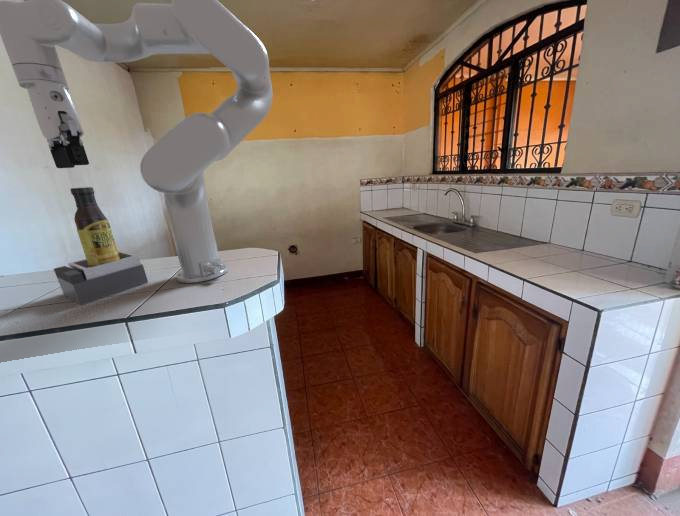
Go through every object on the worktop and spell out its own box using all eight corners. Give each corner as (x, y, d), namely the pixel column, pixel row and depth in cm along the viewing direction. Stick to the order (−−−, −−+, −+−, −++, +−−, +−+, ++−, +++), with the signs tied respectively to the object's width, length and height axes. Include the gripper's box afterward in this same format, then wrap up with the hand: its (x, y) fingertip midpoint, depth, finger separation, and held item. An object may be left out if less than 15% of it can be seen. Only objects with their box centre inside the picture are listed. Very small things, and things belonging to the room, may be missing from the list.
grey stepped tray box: (148, 282, 75) (139, 253, 73) (80, 305, 64) (67, 272, 62) (128, 275, 82) (119, 249, 79) (64, 295, 71) (52, 265, 68)
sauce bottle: (104, 273, 69) (74, 187, 63) (84, 273, 70) (52, 189, 64) (129, 264, 75) (103, 185, 69) (109, 264, 76) (83, 187, 70)
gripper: (79, 73, 58) (107, 163, 63) (54, 91, 67) (80, 167, 73) (26, 65, 52) (62, 164, 57) (7, 85, 61) (40, 169, 67)
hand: (72, 166), depth 65 cm, fingers open, 9 cm apart
